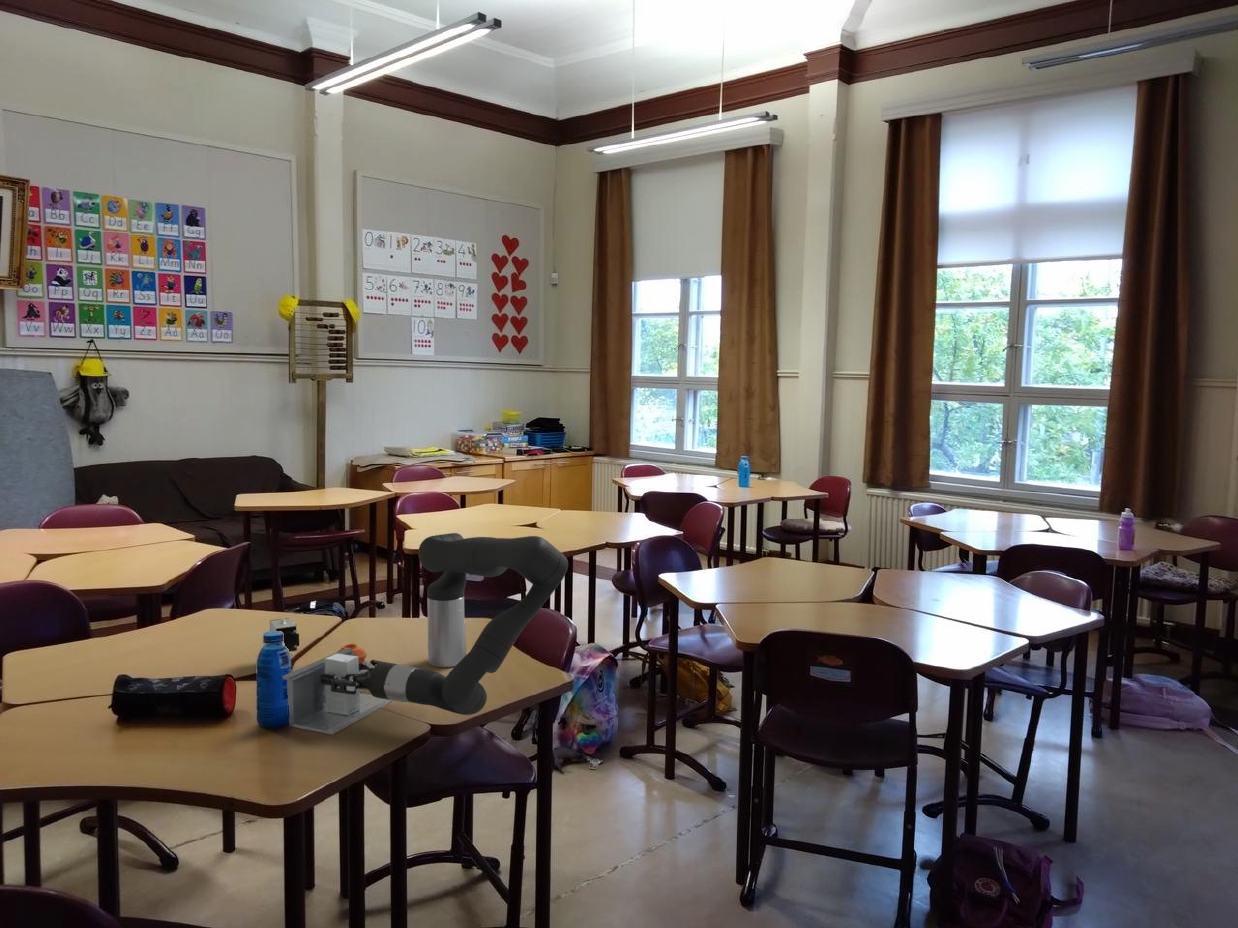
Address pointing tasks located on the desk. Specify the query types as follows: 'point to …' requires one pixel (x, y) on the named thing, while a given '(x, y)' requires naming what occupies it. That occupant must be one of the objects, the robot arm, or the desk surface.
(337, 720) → the bracket
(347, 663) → the skincare box
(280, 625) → the pneumatic valve
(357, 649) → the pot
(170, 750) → the desk surface
